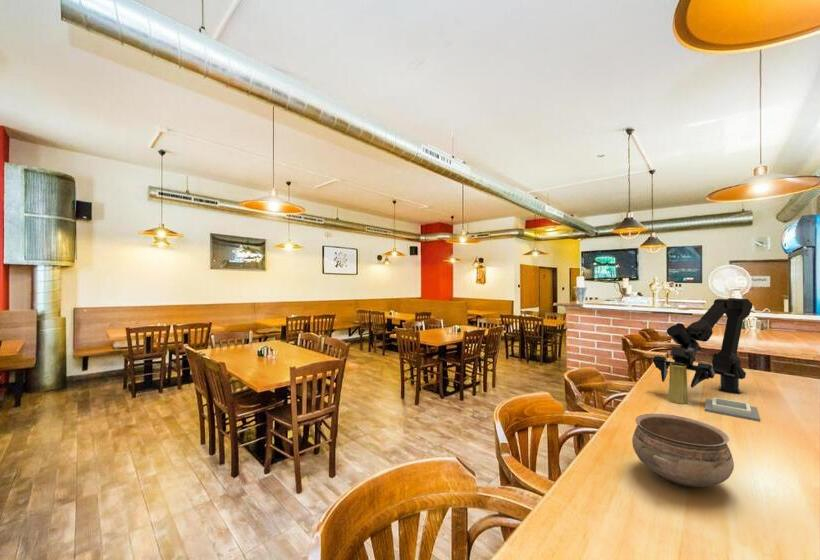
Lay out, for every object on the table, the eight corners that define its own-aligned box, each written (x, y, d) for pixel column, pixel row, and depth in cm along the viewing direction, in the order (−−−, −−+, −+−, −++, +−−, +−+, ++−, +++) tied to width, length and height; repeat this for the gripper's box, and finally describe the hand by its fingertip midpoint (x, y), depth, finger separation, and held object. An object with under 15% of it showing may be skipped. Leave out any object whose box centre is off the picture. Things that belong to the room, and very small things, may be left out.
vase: (681, 398, 137) (681, 362, 137) (692, 404, 131) (692, 366, 131) (664, 398, 138) (664, 362, 138) (674, 404, 132) (674, 366, 132)
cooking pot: (654, 448, 98) (654, 404, 98) (747, 479, 82) (746, 428, 82) (612, 478, 83) (612, 427, 83) (715, 523, 68) (715, 460, 68)
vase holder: (706, 400, 135) (706, 394, 135) (756, 409, 126) (756, 403, 126) (704, 411, 125) (704, 404, 125) (760, 421, 115) (760, 414, 115)
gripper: (654, 336, 144) (643, 366, 138) (712, 342, 129) (702, 377, 123) (662, 352, 149) (651, 383, 143) (718, 361, 134) (709, 395, 127)
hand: (676, 384), depth 134 cm, fingers open, 9 cm apart
